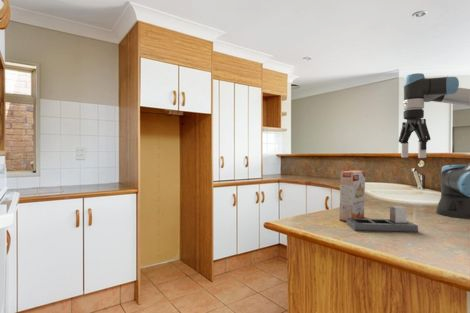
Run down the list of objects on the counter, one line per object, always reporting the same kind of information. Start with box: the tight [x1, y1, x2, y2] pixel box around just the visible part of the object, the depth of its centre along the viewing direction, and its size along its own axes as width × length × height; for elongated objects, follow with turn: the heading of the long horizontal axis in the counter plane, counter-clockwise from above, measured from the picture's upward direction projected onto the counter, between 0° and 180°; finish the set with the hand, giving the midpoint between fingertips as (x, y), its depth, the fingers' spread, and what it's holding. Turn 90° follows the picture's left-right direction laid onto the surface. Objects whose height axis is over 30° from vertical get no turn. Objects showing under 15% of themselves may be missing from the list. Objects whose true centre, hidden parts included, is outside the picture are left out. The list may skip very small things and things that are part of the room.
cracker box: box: [338, 170, 366, 222], centre depth 118 cm, size 14×6×21 cm, turn 136°
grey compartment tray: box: [346, 217, 419, 233], centre depth 103 cm, size 22×9×2 cm, turn 85°
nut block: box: [389, 205, 408, 224], centre depth 102 cm, size 4×4×8 cm
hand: (412, 157), depth 120 cm, fingers open, 13 cm apart
